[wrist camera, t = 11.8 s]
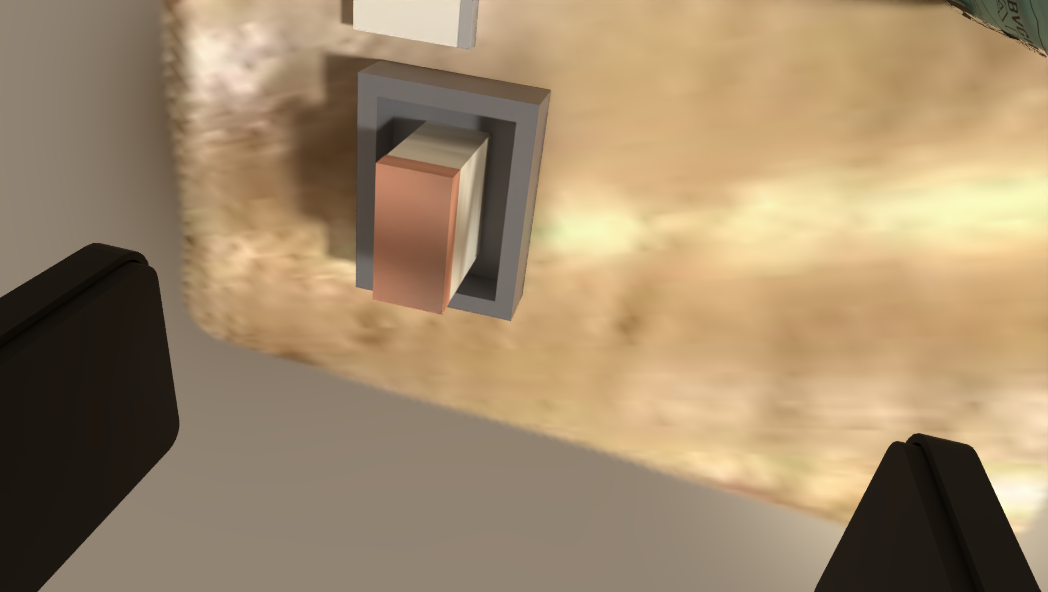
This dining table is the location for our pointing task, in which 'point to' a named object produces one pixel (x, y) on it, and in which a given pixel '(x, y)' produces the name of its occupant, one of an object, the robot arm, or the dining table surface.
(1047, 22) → the beverage bottle
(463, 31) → the cream slab
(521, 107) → the tray
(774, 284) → the dining table surface
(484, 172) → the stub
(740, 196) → the dining table surface
